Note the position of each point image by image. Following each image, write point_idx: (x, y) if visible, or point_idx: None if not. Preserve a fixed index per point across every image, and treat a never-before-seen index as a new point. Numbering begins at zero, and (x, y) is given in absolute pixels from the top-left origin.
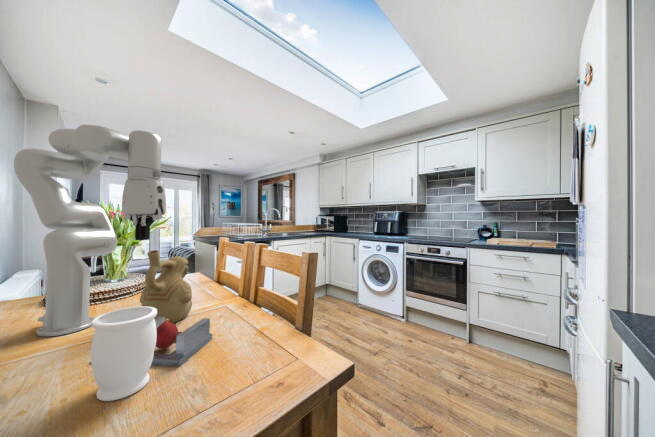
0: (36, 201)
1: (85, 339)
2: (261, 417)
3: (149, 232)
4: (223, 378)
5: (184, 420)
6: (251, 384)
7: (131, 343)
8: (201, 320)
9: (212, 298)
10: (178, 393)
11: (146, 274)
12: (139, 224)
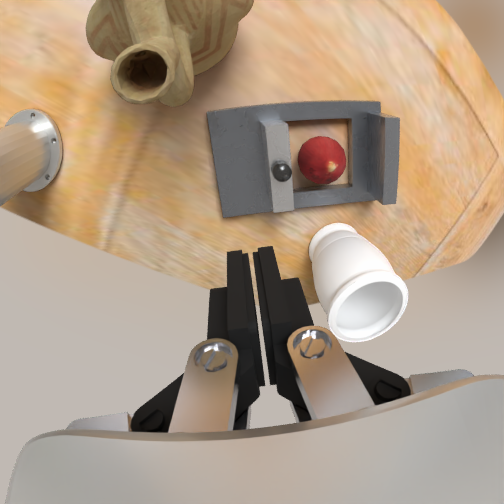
0: None
1: (114, 165)
2: (472, 247)
3: (304, 298)
4: (436, 207)
5: (422, 265)
6: (463, 211)
7: (383, 302)
8: (388, 130)
9: None
10: (402, 240)
11: (165, 103)
12: (258, 393)
